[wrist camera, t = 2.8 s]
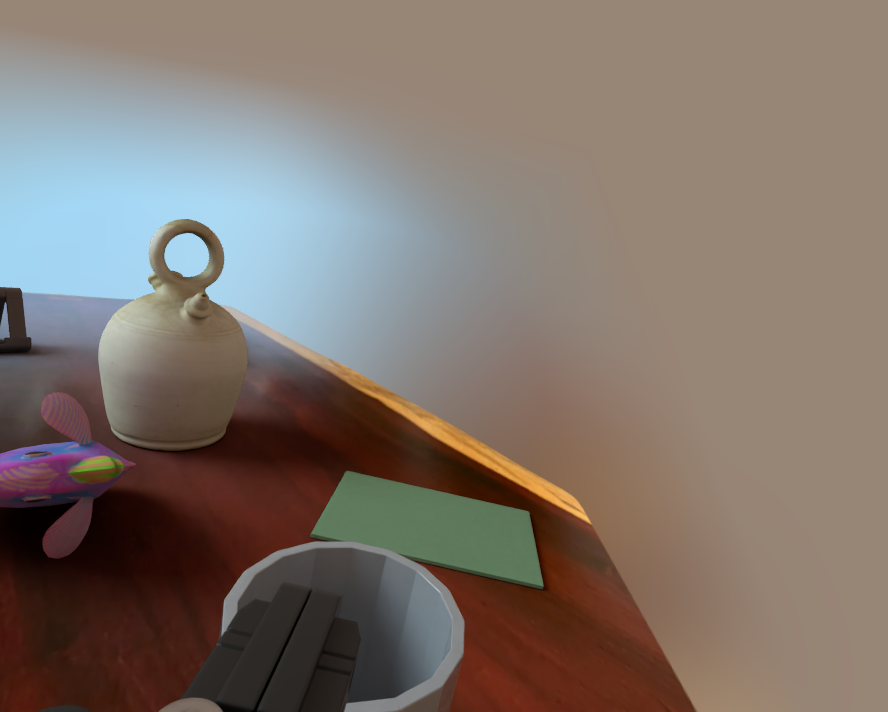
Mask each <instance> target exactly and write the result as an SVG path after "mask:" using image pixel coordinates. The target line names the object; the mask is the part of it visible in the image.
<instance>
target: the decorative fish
mask: <svg viewBox="0 0 888 712" xmlns="http://www.w3.org/2000/svg"><path fill="white" fill-rule="evenodd" d="M41 415H42V417H43V418H44V420H45V422H47V423H48V424H49V425H51V426H52V427H53V428H55V429H56V430H58V431H59V432H61V433H63V434H64V435H66V436H68V437H69V438H71V439H73V440H74V441H76V442H66V443H56V444H45V445H38V446H32V447H26V448H20V449H16V450H12V451H9V452H5V453H2V454H0V507H11V508H27V507H42V506H51V505H58V504H66V503H74V502H77V503H76V504H75V505H74V506H73V507H72V508H70V509H69V510H68V511H67V512H66V513H65V514H63V515H62V516H61V517H60V518H59V519H58V520H57V521H56V522H55V523H54V524H53V525H52V526H51V527H50V528H49V529H48V530H47V531H46V533H45V535H44V537H43V550H44V552H45V553H46V554H47V556H48V557H50V558H56V559H59V558H62V557H65V556H68V555H70V554H71V553H72V552H73V551H74V550H75V549H76V548H77V547H78V546H79V544H80V543H81V541H82V540H83V538H84V536H85V534H86V533H87V531H88V528H89V525H90V522H91V515H92V504H93V500H94V499H95V498H98V497H99V496H100V495H102V494H103V493H104V492H105V491H106V490H107V489H109V488H110V487H111V486H112V485H113V484H114V483H115V482H116V481H117V480H118V479H119V478H121V477H122V476H123V475H124V474H125V473H126V472H127V471H128V470H130V469H132V468H133V467H134V466H135V465H136V464H135V463H133V462H130V461H127V460H125V459H124V458H122V457H121V456H119V455H118V454H116V453H115V452H113V451H112V450H110V449H108V448H107V447H105V446H104V445H102V444H100V443H99V442H96V441H92V439H91V433H90V426H89V421H88V418H87V416H86V413H85V411H84V410H83V408H82V407H81V406H80V404H79V403H78V402H77V401H76V400H75V399H74V398H73V397H71V396H70V395H68V394H66V393H58V392H55V393H53V394H50V395H48V396H46V398H45V399H44V401H43V403H42V404H41Z"/></svg>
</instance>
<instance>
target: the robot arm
mask: <svg viewBox="0 0 888 712" xmlns="http://www.w3.org/2000/svg"><path fill="white" fill-rule="evenodd" d="M342 598H343V595H339V594H335V593H331V592H326V591H322V590H318V589H314V590H313V591H312V588H308V587H304V586H300V585H295V584H291V583H287V582H283V583H282V584H281V586H280V587H279V589H278V591H277V593H276V595H275V596H274V598H273V600H272V602H267V601H262V600H258V599H254V600H253V601H252V602H250V603H249V604H247V605H246V606H244V607H243V608H242V609H240V610H239V611H238V612H237V613H236V615H235V616H234V618H233V619H232V621H231V622H230V624H229V626H228V627H227V629H226V632H224V633H223V635H222V636H221V638H220V639H219V641H218V644H217V646H215V647H214V649H213V650H212V652H211V653H210V655H209V657H208V658H207V660H206V661H205V663H204V664H203V666H202V667H201V669H200V671H199V672H198V674H197V675H196V677H195V678H194V680H193V681H192V683H191V685H190V686H189V688H188V689H187V691H186V692H185V694H184V695H183V697H182V698H181V700H178V701H175V702H173V703H171V704H169V705H167V706H165V707H164V708H162V709H161V710H160V711H159V712H344V711H345V707H346V703H347V700H348V696H349V693H350V688H351V684H352V679H353V674H354V670H355V665H356V660H357V656H358V651H359V646H360V641H361V638H360V634H359V629H358V625H357V622H354V621H350V620H345V619H341V618H339V614H340V609H341V604H342ZM39 712H90V711H89V710H87V709H85V708H83V707H80V706H75V705H61V706H54V707H51V708H47V709H44V710H42V711H39Z"/></svg>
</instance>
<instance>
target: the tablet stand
mask: <svg viewBox="0 0 888 712" xmlns="http://www.w3.org/2000/svg"><path fill="white" fill-rule="evenodd" d="M5 302H6V304H7V313H8V323H9V332H10V338H5V339H4V343H0V352H8V351H17V352H19V351H30V350H31V338H30V337H26V327H25V317H24V308H23V299H22V291H21V289H20V288H6V287H0V324H1V319H2V314H3V309H4V304H5Z"/></svg>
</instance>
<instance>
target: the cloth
mask: <svg viewBox="0 0 888 712" xmlns="http://www.w3.org/2000/svg"><path fill="white" fill-rule="evenodd" d="M311 537H312V538H316V539H321V540H325V541H330V542H349V541H351V542H357V543H361V544H366V545H370V546H375V547H379V548H384V549H388V550H391V551H393V552H395V553H397V554H399V555H401V556H403V557H405V558H407V559H409V560H414V561H418V562H422V563H427V564H431V565H436V566H440V567H445V568H449V569H453V570H458V571H462V572H467V573H471V574H475V575H480V576H484V577H489V578H493V579H498V580H502V581H506V582H511V583H515V584H520V585H524V586H528V587H533V588H537V589H542V590H543V587H544V585H543V580H542V575H541V570H540V565H539V560H538V555H537V550H536V545H535V540H534V535H533V530H532V525H531V520H530V515H529V512H528V511H524V510H519V509H515V508H510V507H506V506H501V505H497V504H493V503H488V502H484V501H479V500H475V499H470V498H466V497H461V496H457V495H453V494H448V493H444V492H439V491H435V490H430V489H426V488H421V487H417V486H413V485H408V484H404V483H399V482H395V481H390V480H386V479H381V478H377V477H372V476H368V475H364V474H359V473H355V472H350V471H346V472H345V474H344V476H343V478H342V480H341V481H340V483H339V485H338V487H337V488H336V490H335V492H334V494H333V496H332V497H331V499H330V501H329V503H328V504H327V506H326V508H325V510H324V512H323V513H322V515H321V517H320V519H319V520H318V522H317V524H316V526H315V528H314V529H313V531H312V533H311Z"/></svg>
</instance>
